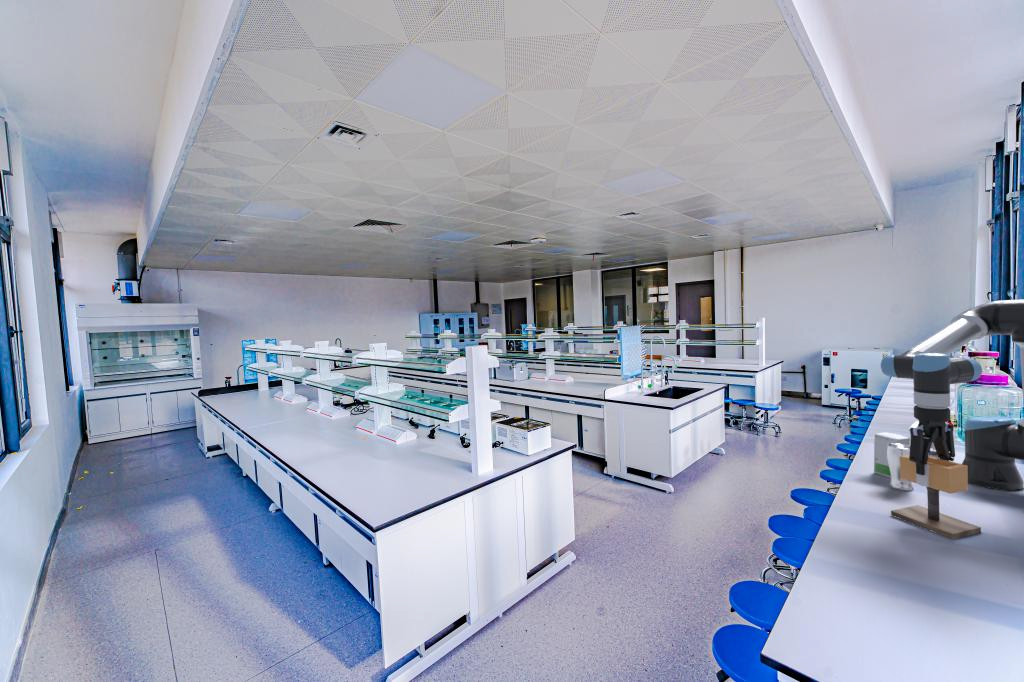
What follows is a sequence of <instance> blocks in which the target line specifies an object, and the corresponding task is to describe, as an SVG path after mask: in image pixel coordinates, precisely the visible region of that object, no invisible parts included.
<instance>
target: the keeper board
mask: <svg viewBox="0 0 1024 682" xmlns="http://www.w3.org/2000/svg"><path fill="white" fill-rule="evenodd" d="M925 488H926V490H927V491H926V492H927V507H924V506H921V505H918V504H916V505H911V506H906V507H901V508H898V509H894V510H893V509H892V510H890V515H893V516H892V517H894V516H896V517H899V518H901V519H903V520H902V521H904V520H906V521H905V522H907V521H908V522H907V523H909V522H911V523H910V524H912V523H913V525H914V524H915V525H914V526H917V525H918V526H917V527H919V526H921V527H920V528H922V527H923V528H922V529H924V528H926V529H925V530H927V529H928V530H927V531H930V530H932V531H934V532H933V533H935V532H936V533H935V534H937V533H938V534H937V535H940V534H941V535H940V536H942V535H943V537H945V536H946V537H945V538H947V537H948V539H950V540H956V539H960V538H964V537H968V536H973V535H977V534H980V533H982V527H981V526H978V525H975V524H972V523H969V522H967V521H964V520H961V519H958V518H956V517H953V516H949V515H947V514H944V513H941V512H940V490H936V489H933V488H930V487H926V486H925ZM896 517H895V518H896ZM899 518H898V519H899ZM901 519H900V520H901ZM932 531H931V532H932ZM955 538H956V539H955Z"/></svg>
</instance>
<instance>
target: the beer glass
mask: <svg viewBox="0 0 1024 682" xmlns="http://www.w3.org/2000/svg"><path fill="white" fill-rule="evenodd" d="M909 454H910V446H909V445H905V444H897V443H891V444H888V448H887V461H888V465H889V469H890V473H891V478H890V482H889V487H890V488H892V489H895V490H898V491H903V492H905V491H906V492H909V491H910V492H911V491H913V490H914V487H913V484H912V483H913V482H910V481H907V480H904V479H901V478H900V456H903V455H909Z"/></svg>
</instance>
